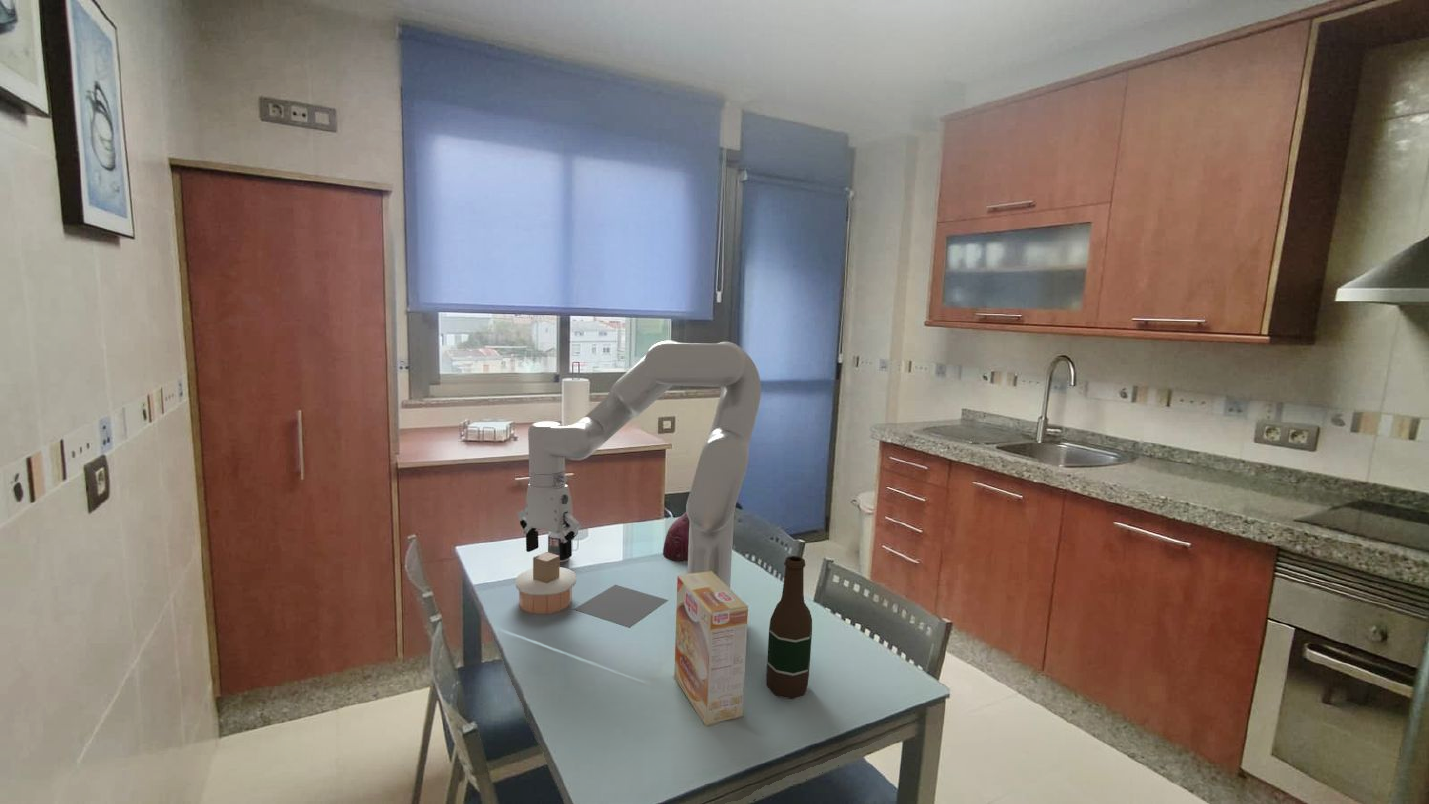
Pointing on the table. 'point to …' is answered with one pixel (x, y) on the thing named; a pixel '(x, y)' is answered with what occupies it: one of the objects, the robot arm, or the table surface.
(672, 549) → the vegetable
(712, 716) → the coffeecake box
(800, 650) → the beer bottle
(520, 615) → the table surface
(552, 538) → the pill bottle
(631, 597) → the mat
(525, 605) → the bowl
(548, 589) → the lid
